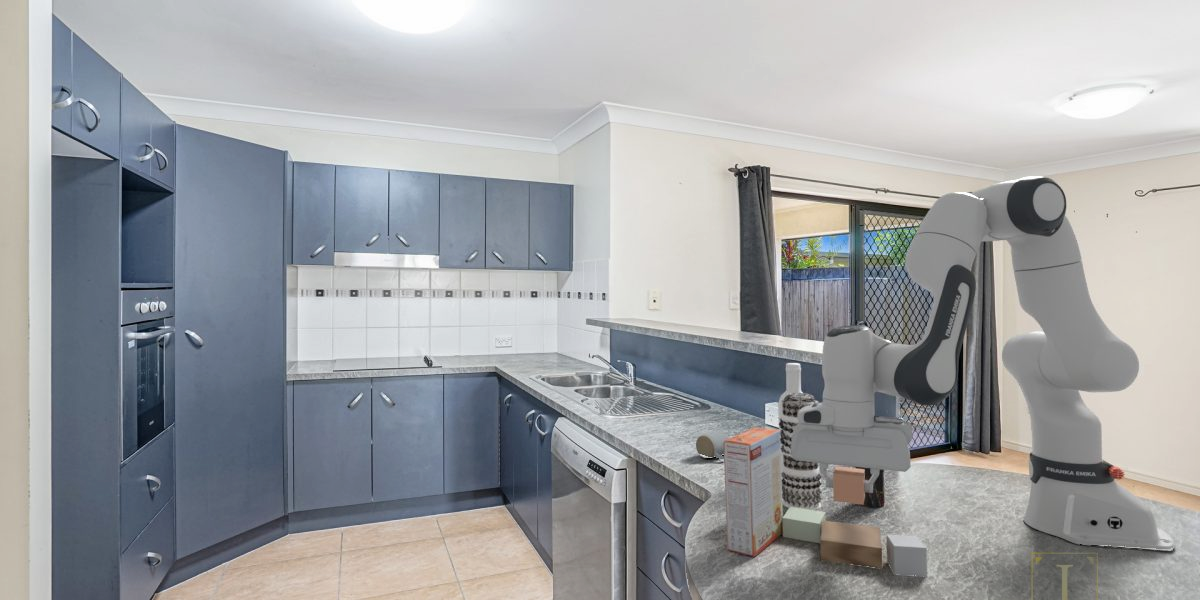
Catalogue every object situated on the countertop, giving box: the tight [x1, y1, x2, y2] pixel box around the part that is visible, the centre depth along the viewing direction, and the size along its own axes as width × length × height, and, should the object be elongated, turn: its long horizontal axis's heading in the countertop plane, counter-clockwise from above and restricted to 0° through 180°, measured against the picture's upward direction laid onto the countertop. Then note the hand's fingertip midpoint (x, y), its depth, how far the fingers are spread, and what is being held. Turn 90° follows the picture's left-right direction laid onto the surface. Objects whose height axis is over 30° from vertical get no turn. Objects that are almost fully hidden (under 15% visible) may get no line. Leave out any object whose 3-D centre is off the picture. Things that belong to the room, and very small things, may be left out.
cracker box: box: [723, 426, 784, 558], centre depth 115 cm, size 14×6×21 cm, turn 141°
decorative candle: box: [778, 392, 823, 511], centre depth 135 cm, size 9×9×25 cm
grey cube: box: [885, 533, 928, 578], centre depth 103 cm, size 5×5×5 cm
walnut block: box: [819, 520, 883, 570], centre depth 109 cm, size 10×10×4 cm
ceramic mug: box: [695, 429, 730, 459], centre depth 175 cm, size 11×8×8 cm
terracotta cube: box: [832, 465, 865, 505], centre depth 109 cm, size 5×5×5 cm
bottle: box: [777, 362, 804, 479], centre depth 153 cm, size 8×8×30 cm
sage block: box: [782, 507, 827, 544], centre depth 119 cm, size 7×7×4 cm
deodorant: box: [854, 467, 885, 509], centre depth 135 cm, size 6×6×15 cm
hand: (849, 489), depth 109 cm, fingers closed on terracotta cube, 5 cm apart
